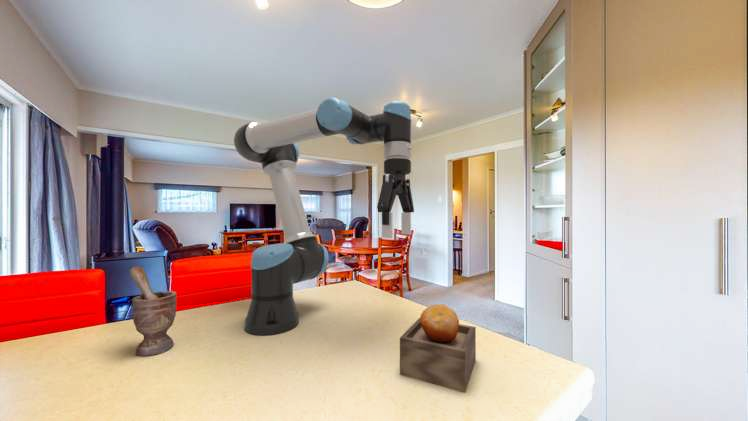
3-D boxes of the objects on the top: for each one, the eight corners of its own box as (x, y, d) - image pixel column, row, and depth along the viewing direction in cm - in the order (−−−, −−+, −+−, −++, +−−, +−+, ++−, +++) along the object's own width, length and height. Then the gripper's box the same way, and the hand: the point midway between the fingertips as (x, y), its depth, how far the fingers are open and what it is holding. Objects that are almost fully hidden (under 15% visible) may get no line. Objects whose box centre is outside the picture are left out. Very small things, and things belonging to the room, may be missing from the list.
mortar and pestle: (108, 359, 66) (108, 270, 66) (136, 342, 74) (137, 264, 74) (161, 357, 66) (162, 270, 67) (183, 340, 75) (184, 263, 75)
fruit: (453, 322, 68) (456, 298, 64) (459, 354, 61) (463, 329, 57) (418, 321, 68) (419, 297, 64) (420, 352, 62) (421, 327, 58)
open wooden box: (399, 374, 59) (399, 337, 59) (420, 348, 71) (419, 317, 71) (465, 392, 53) (465, 351, 53) (475, 360, 65) (475, 326, 65)
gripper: (391, 149, 68) (391, 240, 68) (424, 165, 90) (424, 233, 90) (363, 152, 71) (363, 239, 71) (401, 167, 93) (401, 232, 93)
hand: (397, 236), depth 80 cm, fingers open, 13 cm apart
